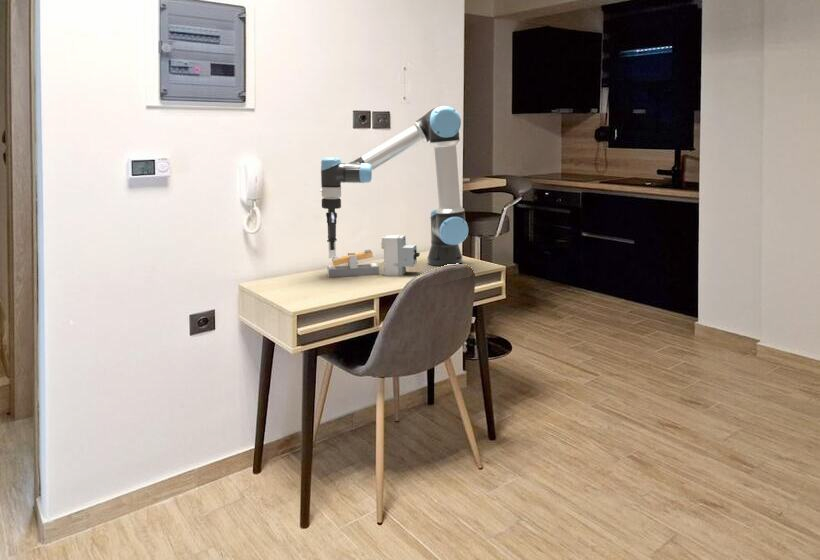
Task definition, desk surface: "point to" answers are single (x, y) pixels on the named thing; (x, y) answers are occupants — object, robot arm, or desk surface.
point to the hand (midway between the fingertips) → (332, 257)
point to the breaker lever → (360, 256)
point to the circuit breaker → (397, 255)
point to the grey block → (353, 268)
